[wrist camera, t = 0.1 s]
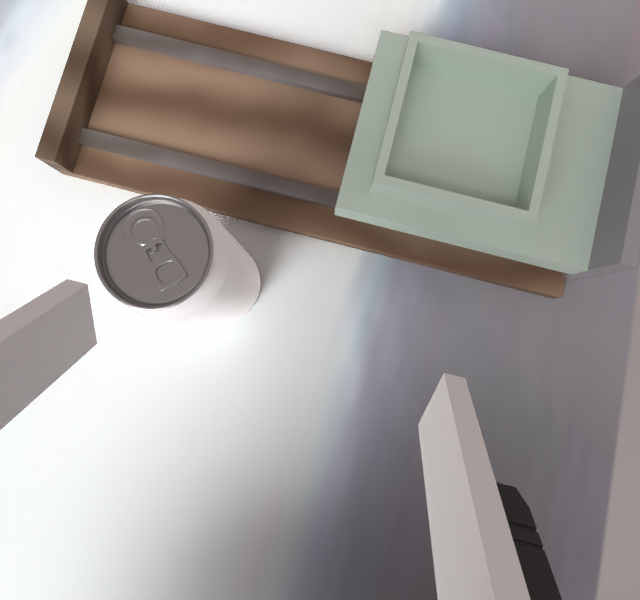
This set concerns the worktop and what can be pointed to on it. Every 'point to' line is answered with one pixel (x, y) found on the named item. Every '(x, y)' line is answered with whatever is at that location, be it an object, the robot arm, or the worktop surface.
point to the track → (232, 131)
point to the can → (175, 262)
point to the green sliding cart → (497, 156)
